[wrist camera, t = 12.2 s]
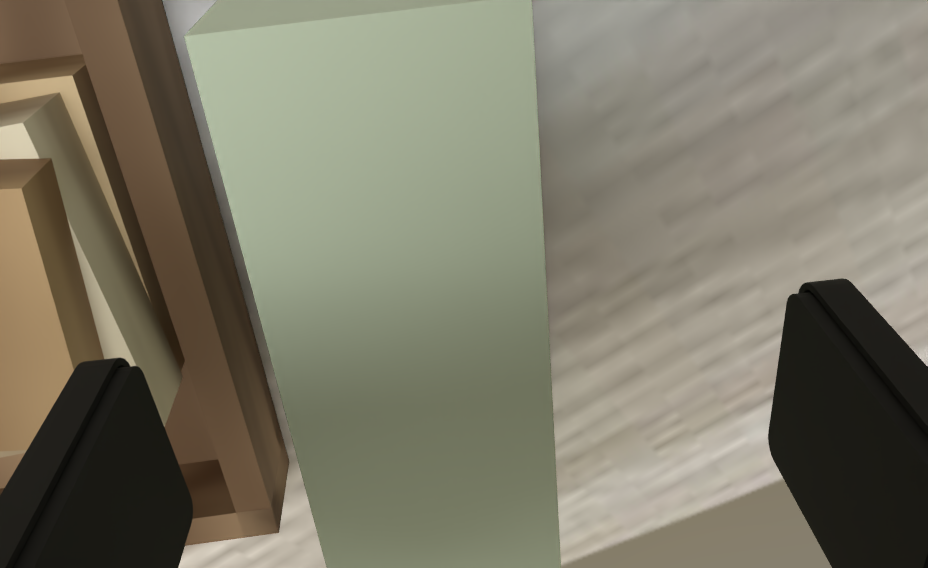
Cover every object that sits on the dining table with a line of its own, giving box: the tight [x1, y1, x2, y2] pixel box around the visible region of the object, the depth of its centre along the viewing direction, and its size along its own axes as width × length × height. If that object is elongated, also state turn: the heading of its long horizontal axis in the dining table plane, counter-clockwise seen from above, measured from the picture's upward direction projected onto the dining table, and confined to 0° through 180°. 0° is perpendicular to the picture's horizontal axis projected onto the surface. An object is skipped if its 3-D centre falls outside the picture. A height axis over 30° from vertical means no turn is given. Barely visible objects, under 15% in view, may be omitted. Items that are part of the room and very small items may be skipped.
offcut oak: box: [0, 54, 185, 371], centre depth 20 cm, size 6×8×2 cm
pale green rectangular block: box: [184, 0, 561, 568], centre depth 16 cm, size 4×12×10 cm, turn 6°
